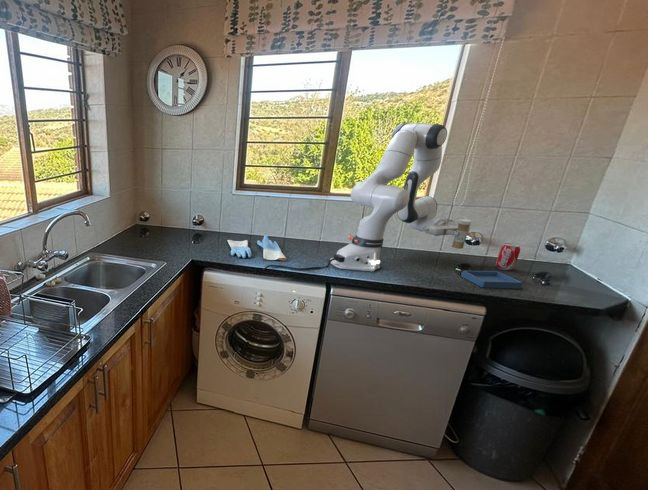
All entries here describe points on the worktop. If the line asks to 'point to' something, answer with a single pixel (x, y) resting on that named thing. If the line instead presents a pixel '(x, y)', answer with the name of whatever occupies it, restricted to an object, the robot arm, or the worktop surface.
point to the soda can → (508, 256)
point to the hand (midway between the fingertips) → (463, 233)
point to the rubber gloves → (269, 248)
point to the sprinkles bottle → (461, 233)
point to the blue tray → (491, 279)
